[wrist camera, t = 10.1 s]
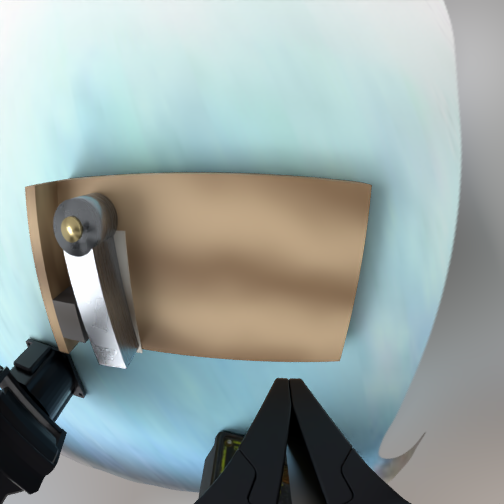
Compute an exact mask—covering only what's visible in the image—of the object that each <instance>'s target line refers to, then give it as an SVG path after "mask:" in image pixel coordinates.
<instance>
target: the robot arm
mask: <svg viewBox="0 0 504 504" xmlns="http://www.w3.org/2000/svg"><path fill="white" fill-rule="evenodd" d="M26 344H27V346H28V348H27V349H26V350H25V351H24V352H23V353H22V354H21V355H20V356H19V357H18V358H17V359H16V360H15V361H14V367H13V368H12V369H11V370H9V368H8V367H7V366H6V367H4V368H3V367H2V366H0V387H1V389H2V390H0V504H2V503H3V502H4V500H5V498H6V497H7V496H8V495H10V494H15V493H18V492H22V491H25V492H27V493H28V494H33V493H34V492H37V491H38V490H39V488H40V485H41V483H42V481H43V479H44V477H45V476H46V475H48V474H49V473H50V472H51V471H52V470H53V469H54V468H55V466H56V464H57V462H58V459H59V456H60V452H61V449H62V446H63V443H64V440H65V436H66V432H65V431H64V430H63V429H61V428H60V427H59V426H58V425H57V424H56V423H55V421H56V420H57V418H58V417H59V415H60V413H61V412H62V410H63V409H64V407H65V406H66V404H67V403H68V401H69V400H70V398H71V397H72V395H75V396H78V397H81V398H84V397H85V395H86V393H85V391H84V389H83V387H82V384H81V382H80V380H79V377H78V375H77V372H76V370H75V367H74V365H73V362H72V360H71V357H70V355H69V354H68V353H64V352H61V351H59V348H56V347H53V346H50V345H46V344H43V343H40V342H37V341H34V340H32V339H28V340H27V341H26ZM286 456H287V465H288V473H289V482H290V491H291V500H292V504H411V503H409V502H408V501H406V500H405V499H403V498H402V497H401V496H400V495H399V494H397V493H396V492H395V491H394V490H393V489H392V488H391V487H390V486H389V485H388V484H386V483H385V482H384V481H383V480H382V479H381V478H380V477H379V476H378V475H377V474H376V473H375V472H374V471H373V470H372V469H371V468H370V467H369V466H368V465H367V464H366V463H365V462H364V460H363V459H362V458H361V457H360V456H359V454H358V453H357V452H356V450H355V449H354V448H352V446H351V444H350V443H349V442H348V440H347V439H346V438H345V436H344V435H343V434H342V433H341V431H340V430H339V429H338V427H337V426H336V425H335V423H334V422H333V421H332V419H331V418H330V417H329V416H328V414H327V413H326V412H325V410H324V409H323V408H322V406H321V405H320V404H319V402H318V401H317V399H316V398H315V397H314V395H313V394H312V393H311V391H310V390H309V389H308V387H307V386H306V385H305V383H304V382H303V380H302V379H289V380H288V379H287V378H276V379H275V381H274V383H273V385H272V387H271V389H270V391H269V393H268V395H267V397H266V399H265V401H264V402H263V404H262V406H261V408H260V410H259V412H258V414H257V415H256V417H255V419H254V421H253V423H252V425H251V426H250V428H249V430H248V432H247V433H246V435H245V437H244V439H243V440H242V442H241V444H240V446H239V447H238V450H236V452H235V454H234V455H233V457H232V459H231V460H230V462H229V463H228V465H227V466H226V468H225V469H224V471H223V472H222V473H221V474H220V475H219V477H218V478H217V479H216V480H215V482H214V483H213V484H212V485H211V486H210V487H209V488H208V489H207V490H206V491H205V492H204V494H203V495H202V496H201V497H200V498H199V499H198V500H197V501H196V502H195V503H194V504H278V502H279V496H280V490H281V484H282V478H283V471H284V464H285V457H286Z"/></svg>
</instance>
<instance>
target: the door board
mask: <svg viewBox="0 0 504 504" xmlns="http://www.w3.org/2000/svg"><path fill="white" fill-rule="evenodd" d="M371 187H372V185H370V184H366V183H362V182H356V181H347V180H338V179H328V178H317V177H305V176H291V175H275V174H256V173H224V172H169V173H138V174H119V175H104V176H91V177H80V178H70V179H64V180H58V181H53V182H46V183H41V184H36V185H31V186H27V187H25V192H26V206H27V216H28V225H29V233H30V240H31V246H32V252H33V258H34V263H35V268H36V273H37V277H38V282H39V286H40V290H41V294H42V298H43V301H44V305H45V309H46V312H47V315H48V319H49V322H50V325H51V328H52V331H53V334H54V337H55V340H56V343H57V346H58V348H59V351H61V352H64V353H68V354H69V353H70V352H71V351H72V350H73V348H74V347H75V346H76V345H77V344H78V343H79V342H83V343H86V341H87V340H88V339H89V337H88V334H87V332H86V329H85V326H84V323H83V320H82V317H81V314H80V311H79V308H78V304H77V301H76V298H75V294H74V291H73V287H72V284H71V280H70V276H69V272H68V268H67V264H66V259H65V255H64V250H63V249H62V248H61V247H60V245H59V244H58V242H57V240H56V237H55V234H54V229H53V219H54V214H55V211H56V209H57V207H58V206H59V205H60V204H61V203H62V202H63V201H65V200H68V199H71V198H75V197H79V196H82V195H86V194H90V193H101V194H103V195H105V196H107V197H108V198H109V199H110V200H111V201H112V203H113V204H114V206H115V209H116V212H117V216H118V225H117V230H116V232H115V234H114V242H115V248H116V253H117V259H118V264H119V269H120V273H121V278H122V283H123V287H124V292H125V296H126V300H127V304H128V308H129V312H130V316H131V319H132V323H133V327H134V330H135V334H136V337H137V340H138V344H139V348H138V350H137V352H138V353H143V351H142V349H145V350H151V351H158V352H165V353H172V354H180V355H189V356H198V357H208V358H220V359H233V360H250V361H275V362H328V361H340V358H341V354H342V351H343V347H344V343H345V339H346V335H347V331H348V327H349V323H350V318H351V314H352V309H353V305H354V300H355V295H356V290H357V285H358V280H359V275H360V269H361V263H362V257H363V251H364V245H365V238H366V231H367V223H368V215H369V207H370V197H371Z"/></svg>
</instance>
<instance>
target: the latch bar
mask: <svg viewBox="0 0 504 504" xmlns="http://www.w3.org/2000/svg"><path fill="white" fill-rule="evenodd" d="M117 225H118V216H117V212H116V209H115V206H114V204H113V203H112V201H111V200H110V199H109V198H108V197H107V196H105V195H103V194H101V193H90V194H86V195H82V196H79V197H75V198H71V199H68V200H65V201H63V202H62V203H61V204H60V205H59V206H58V207H57V209H56V211H55V214H54V219H53V229H54V234H55V237H56V240H57V242H58V244H59V245H60V247H61V248H62V249H63V250H64V255H65V259H66V264H67V268H68V272H69V276H70V280H71V284H72V287H73V291H74V294H75V298H76V301H77V304H78V308H79V311H80V314H81V317H82V320H83V323H84V326H85V329H86V332H87V334H88V337H89V340H90V342H91V345H92V348H93V350H94V353H95V355H96V358H97V360H98V363H99V365H105V366H111V367H118V368H125V369H127V367H128V365H129V364H130V362H131V360H132V358H133V357H134V355H135V353H136V352H137V350H138V348H139V344H138V340H137V337H136V334H135V330H134V327H133V323H132V319H131V316H130V312H129V308H128V304H127V300H126V296H125V292H124V287H123V283H122V278H121V273H120V269H119V264H118V259H117V253H116V248H115V242H114V234H115V232H116V230H117Z"/></svg>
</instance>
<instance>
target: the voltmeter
mask: <svg viewBox="0 0 504 504" xmlns="http://www.w3.org/2000/svg"><path fill="white" fill-rule="evenodd" d="M243 439H244V436H240V435H236V434H232V433H228V432H224V431H223V432H219V433H218V434H217V436H216V438H215V444H214V446H213V448H212V450H211V451H210V453H209V454H208V456H207V457H206V459H205V464H204V469H203V475H202V481H201V487H200V493H199V498H200V497H201V496H202V495H203V494H204V492H205V491H206V490H207V489H208V488H209V487H210V486H211V485H212V484H213V483H214V482H215V480H216V479H217V478H218V477H219V475H220V474H221V473H222V472H223V471H224V469H225V468H226V466H227V465H228V463H229V462H230V460H231V459H232V457H233V455H234V454H235V452H236V450H238V447H239V446H240V444H241V442H242V440H243ZM278 504H292V500H291V491H290V482H289V473H288V465H287V456H286V457H285V464H284V471H283V478H282V484H281V490H280V496H279V502H278Z"/></svg>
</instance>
